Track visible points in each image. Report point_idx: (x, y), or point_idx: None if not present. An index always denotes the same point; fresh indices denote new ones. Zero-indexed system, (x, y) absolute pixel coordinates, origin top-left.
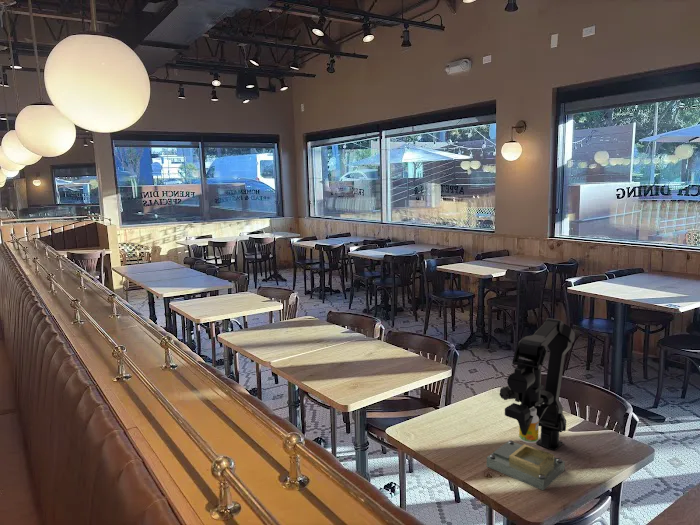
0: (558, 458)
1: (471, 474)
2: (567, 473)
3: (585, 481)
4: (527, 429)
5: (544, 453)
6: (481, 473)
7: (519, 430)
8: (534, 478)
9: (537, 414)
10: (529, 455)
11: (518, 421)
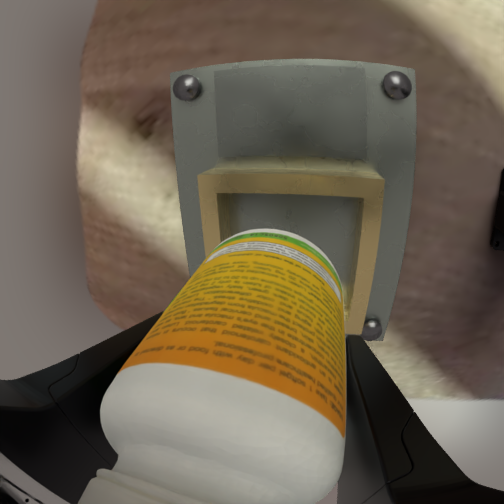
0: (378, 328)
1: (113, 84)
2: None
3: None
4: None
5: (351, 298)
6: (139, 100)
7: (196, 274)
8: None
9: (347, 497)
10: (341, 216)
11: (49, 374)
